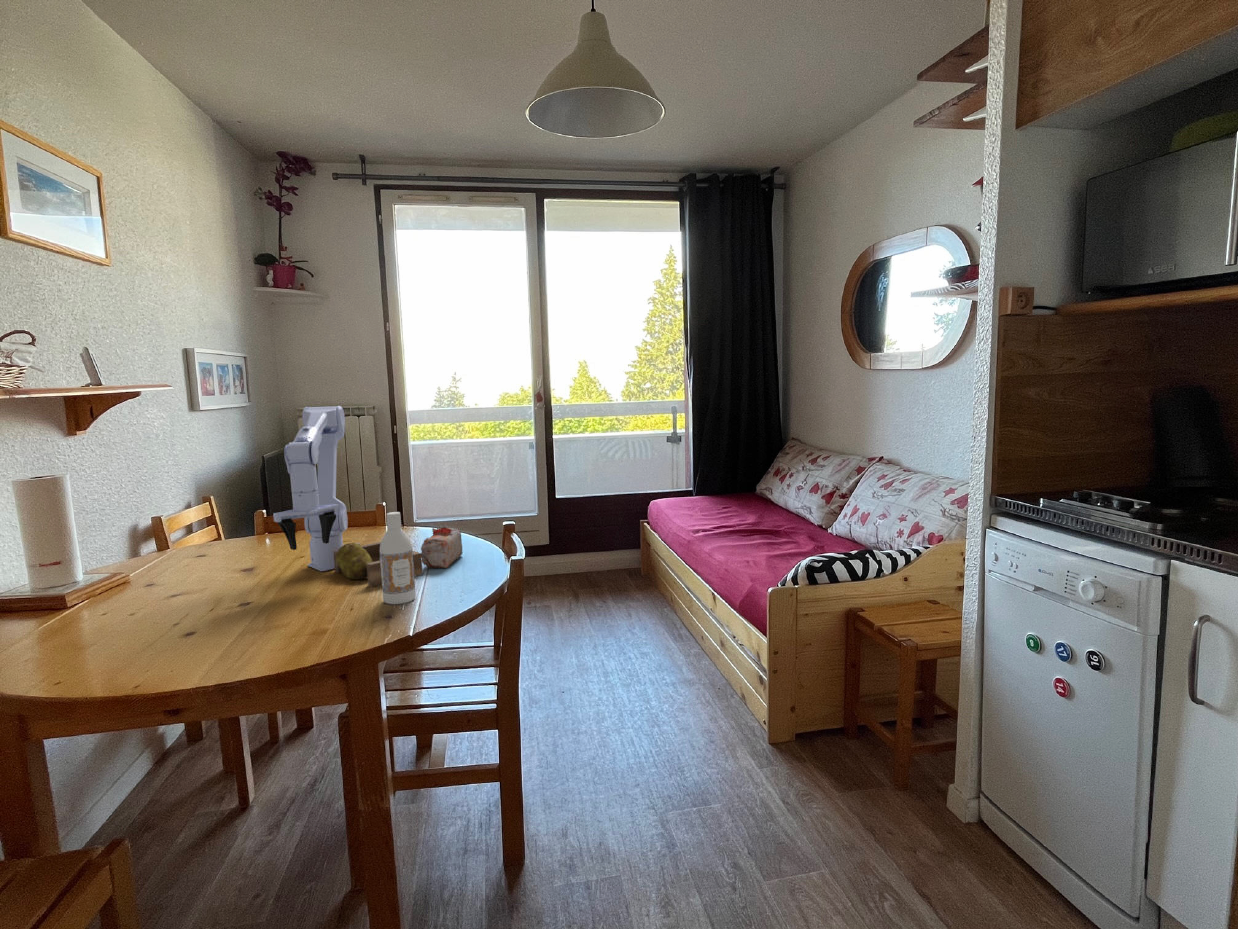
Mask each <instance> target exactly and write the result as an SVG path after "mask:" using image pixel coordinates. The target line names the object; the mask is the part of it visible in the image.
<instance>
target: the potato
mask: <svg viewBox="0 0 1238 929" xmlns="http://www.w3.org/2000/svg"><path fill="white" fill-rule="evenodd" d="M356 543H357V542H349V543H345V544H343V546H342V547H340V548H339V550H338V552H337V556H336V560H337V564H338V566H339V567H340V568H341V570H342V572H341V573H342V574H343V575H344V576H345V577H346V578H348V579H351V580H366V579H368V576H367V563H371V562H373V561H372V559H371V557H370V555H369V553H368V552H367V551H366V550H365V549H363V548H362V545H361V544H360V545H359V544H356Z"/></svg>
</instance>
